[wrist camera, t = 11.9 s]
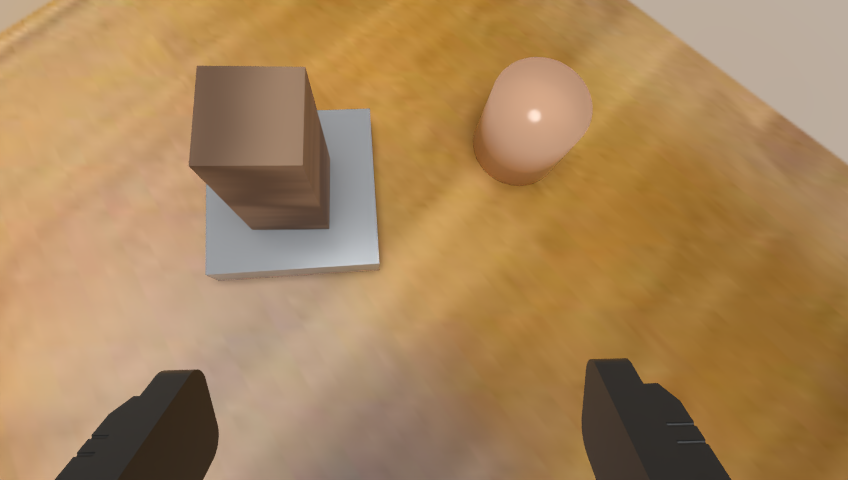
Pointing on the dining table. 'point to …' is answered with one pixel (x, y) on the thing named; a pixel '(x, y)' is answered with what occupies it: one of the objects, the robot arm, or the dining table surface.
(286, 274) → the plinth
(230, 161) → the walnut block
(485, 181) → the dining table surface
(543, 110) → the pink smooth domed block
